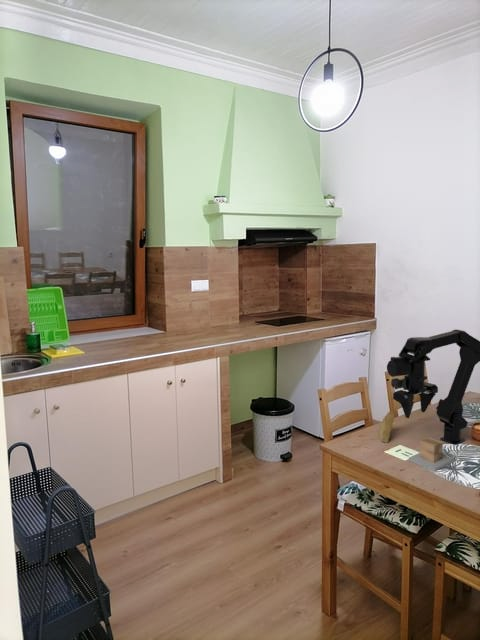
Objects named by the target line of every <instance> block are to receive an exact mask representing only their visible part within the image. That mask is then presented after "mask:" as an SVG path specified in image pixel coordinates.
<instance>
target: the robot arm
mask: <svg viewBox="0 0 480 640" xmlns="http://www.w3.org/2000/svg"><path fill="white" fill-rule="evenodd" d="M453 344H456V345H457V346H458V347H459V352H458V353H459V357H460V362H459V365H458V367H457V370H456V372H455V375H454V378H453V380H452V384H451V386H450V389H449V392H448V395H447V396H446V397H445V398H444V399H442V398H440V399H439V400H438V405H437V406H436V407H435V409H436V416H437V418H438V419H439V422H440V423H443V424H444V425H443V426H444V427H443V436H442V437H440V438H439V439H440V440H441V441H442V442H443V441H444V442H446V443H449V444H452V445H455V446H456V445H459V444H460V443H463V442H465V441H466V438H462V430H464V429H466V428H467V426H468V424H469V423H468V420H467V419H466V418H464V416H463V412H464V406H463V398H464V397H465V393H466V390H467V388H468V385H469V382H470V379H471V377H472V374H473V372H474V368H475V366H476V365H477V364H478V363H480V340H479V339H477V338H475V337H474V336H472V335H470V334H469V333H468V332H466V330H462V329H456V328H455V329H453V330H450V331H446V332H443V333H440V334H435V335H431V336H425V337H423V336H420V337H419V336H415V337H413V336H412V337H409V338H407V339H406V342H405V344H404V346H403V347H402V349H401V350H400V352H399V353H398V356H391V357H390V360H389V361H388V363H387V365H386V371H387V373H388V375H389V376H390V377H392V379H391V380H390V381H391V383H390V386H391V387H392V388H393V389H395V390H397V391H394V392H393V393H392V399H393V400H394V401H395V402H397V403H399V404H400V405H401V407H402V410H403V414H404V417H405V418H406V419H410V416H411V414H412V411H413V410H412V409H413V407H414V405H415V401H414V399H415V396H417V395H418V397H420V398H419V399H420V411H421V413H426V411H427V409H428V407H429V406H430V403H431V402H432V401H433V398H434V397H435V396H436V394H437V393H439V388H438V386H437V384H434V383H429V382H425V381H426V380H428V376H426V375H425V374H426V373H425V372H426V371H425V370H426V369H425V368H426V367H425V366H426V363H425V362H426V361H430V360H431V357H429V356H428V354H430V353H432V351H434V350H435V349H437V348H438V349H439V348H442V347H446V346H450V345H453ZM401 376H402V377H403V376H404V377H403V378H400V379H399V378H398V377H401ZM395 377H396V378H395ZM398 389H399V390H398ZM440 440H439V441H440Z"/></svg>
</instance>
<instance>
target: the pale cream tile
mask: <svg viewBox="0 0 480 640" xmlns="http://www.w3.org/2000/svg"><path fill="white" fill-rule="evenodd" d="M420 452H421V451H417V450H415V449H411V448H410V447H407V446H405V445H401V444H399V445H395V446H394V447H391V448H389V449H387V450H384V453H386V454H388V455H390V456H393V457H396V458H398V459H399V460H402V461H405V462H406V461H409V457H411V456H414V455H416V454H418V453H420Z"/></svg>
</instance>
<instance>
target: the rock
mask: <svg viewBox="0 0 480 640" xmlns="http://www.w3.org/2000/svg"><path fill="white" fill-rule="evenodd" d="M395 415H396V414H395V412H393V411H388V412H387V413H386V415H385V416H384V417H383V419H382V420H381V422H380V424H379V430H378V437H379V438H380V439H381V440H380V441H381V442H382V443H383V442H384V443H389V441H390V438H391V437H390V436H391V432H392V429H393V423H394V419H395Z"/></svg>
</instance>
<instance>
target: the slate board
mask: <svg viewBox="0 0 480 640" xmlns="http://www.w3.org/2000/svg"><path fill="white" fill-rule="evenodd" d="M419 452H420V453H418V454H416V455H414V456H411V457H409V459H408V461H409V462H411V463H414V464H416V465H419V466H421V467H424V468H425V469H429V470H431V471H432V472H436V471H439V470H441V469H442V468H445V467H446V466H449V465H450V464H452V463H455V458H454V457H450V456H448V455H446V454H442V459H441V460H439V461H437V462H435V463H432V462H430V461H427V460H425V459H422V458H420V457H421V451H419Z"/></svg>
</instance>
